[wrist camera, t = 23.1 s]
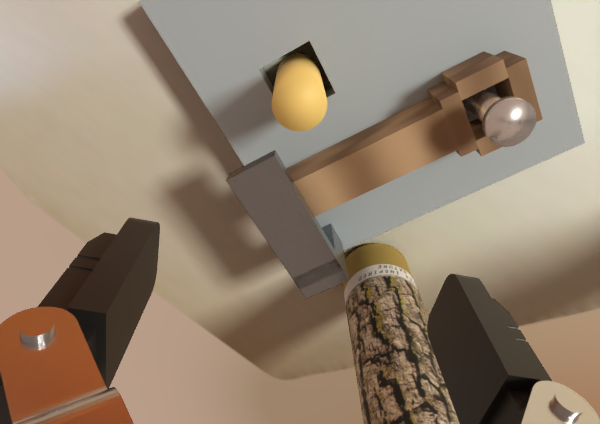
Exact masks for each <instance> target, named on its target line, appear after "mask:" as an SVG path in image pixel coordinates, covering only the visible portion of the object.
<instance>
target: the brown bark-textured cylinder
mask: <svg viewBox="0 0 600 424" xmlns="http://www.w3.org/2000/svg"><path fill="white" fill-rule="evenodd" d="M345 260H346V266H347V271H348V277H349V280H348V281H346V282H343V283H342V284H343V291H344V299H345V305H346V312H347V318H348V325H349V331H350V337H351V344H352V350H353V357H354V363H355V370H356V376H357V383H358V389H359V395H360V402H361V409H362V415H363V421H364V424H460V423H459V421H458V418H457V415H456V412H455V410H454V407H453V404H452V401H451V399H450V396H449V393H448V390H447V388H446V385H445V382H444V379H443V377H442V374H441V371H440V368H439V366H438V363H437V360H436V357H435V355H434V352H433V349H432V346H431V344H430V341H429V338H428V333H427V324H428V315H427V313H426V310H425V307H424V305H423V302H422V300H421V297H420V295H419V292H418V290H417V287H416V284H415V282H414V280H413V277H412V275H411V272H410V270H409V267H408V265H407V262H406V260H405V258H404V256H403V255H402V254H401V253H400V252H399V251H398V250H397V249H395V248H394V247H392V246H389V245H386V244H379V243H373V244H367V245H364V246H361V247H359V248H357V249H356V250H354V251H353V252H352V253H350V254H349V255H348V257H347V258H346V259H345Z"/></svg>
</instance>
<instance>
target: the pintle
mask: <svg viewBox="0 0 600 424" xmlns="http://www.w3.org/2000/svg"><path fill="white" fill-rule="evenodd" d="M462 103H463V105H464V108H465V109H467V110H468V111H469V112H470V113H472V114H473V115H474V116H475V117H477V118H478V119H479V120H481V121H482V129H483V132H484V134H485V136H486V137H487V138H488V139H489V140H490V141H492V142H493V143H494V144H496V145H498V146H502V147H510V146H514V145H517V144H519V143H521V142H522V141H524V140H525V139H526V138H527V137H528V136H529V135H530V134H531V132H532V131H533V129H534V127H535V124H536V112H535V109H534V108H533V106H532V105H531V104H530V103H528V102H527V101H525V100H523V99H521V98H519V97H515V96H508V97H504V98H500V97H498V96H497V95H495V94H493V93H492V92H490V91H488V90H487V89H484V90H482V91H480V92H478V93H476V94H474V95H472V96H470V97H468V98H466V99H464V100H462Z"/></svg>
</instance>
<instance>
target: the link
mask: <svg viewBox="0 0 600 424" xmlns="http://www.w3.org/2000/svg"><path fill="white" fill-rule="evenodd" d="M441 75H442V77H443V80H444V81H443V82H441V83H439V84H437V85H435V86H433V87H431V88H429V89H427V92H428V94H429V98H427V99H425V100H423V101H421V102H419V103H417V104H415V105H413V106H411V107H409V108H407V109H405V110H403V111H401V112H399V113H397V114H395V115H393V116H391V117H389V118H387V119H385V120H383V121H381V122H379V123H377V124H375V125H373V126H371V127H369V128H367V129H365V130H363V131H361V132H359V133H357V134H355V135H353V136H351V137H349V138H347V139H345V140H343V141H341V142H339V143H337V144H335V145H333V146H331V147H329V148H327V149H325V150H323V151H321V152H319V153H317V154H315V155H313V156H311V157H309V158H307V159H305V160H303V161H301V162H299V163H297V164H295V165H293V166H291V167H289V168H287V170H288V172H289V174H290V176H291V177H292V179H293V181H294V182H295V184H296V186H297V187H298V189H299V191H300V192H301V194H302V196H303V197H304V199H305V201H306V202H307V204H308V206H309V207H310V209H311V211H312V213H313V214H314V216H317V215H319V214H322V213H324V212H326V211H328V210H330V209H332V208H334V207H337V206H339V205H341V204H343V203H345V202H347V201H349V200H352V199H354V198H356V197H358V196H360V195H362V194H364V193H367V192H369V191H371V190H373V189H375V188H377V187H380V186H382V185H384V184H386V183H388V182H390V181H392V180H395V179H397V178H399V177H401V176H403V175H405V174H407V173H410V172H412V171H414V170H416V169H418V168H420V167H422V166H425V165H427V164H429V163H431V162H433V161H435V160H437V159H440V158H442V157H444V156H446V155H448V154H450V153H452V152H455V151H456V152H457V153H458V154H459V155H460V156H461V157H462V156H464V155H466V154H469V153H471V152H473V151H475V150H476V151H477V152H478V153H479V154H480V155H481V156H484V155H486V154H488V153H490V152H492V151H495V150H497V149H499V148H501V147H502V146H498V145H496V144H494V143H493V142H492V141H490V140H489V139H488V138H487V137H486V136H485V134H484V132H483V129H482V121H481V120H479V119H478V118H477V119H475V120H473V121H471V122H469V120H468V117H467V114H466V111H465V108H464V105H463V103H462V100H464V99H466V98H468V97H470V96H472V95H474V94H476V93H478V92H480V91H482V90H484V89H486V88H488V87H491V86H493V85H495V88H496V91H497V94H498V97H500V98H504V97H508V96H515V97H519V98H521V99H523V100H525V101H527V102H528V103H530V104H531V105H532V106H533V108H534V109H535V112H536V122H538V121H540V120H542V119H543V118H542V115H541V111H540V107H539V104H538V100H537V96H536V93H535V89H534V85H533V82H532V78H531V74H530V71H529V67H528V63H527V60H526V58H524V57H521V56H518V55H515V54H513V53H510V52H507V51H503V52H501V53H499V54H497V55H492V54H490V53H487V52H485V51H483V52H481V53H479V54H477V55H475V56H473V57H471V58H469V59H467V60H466V61H464V62H462V63H460V64H458V65H456V66H454V67H452V68H450V69H448V70H446V71H444V72H442V73H441Z"/></svg>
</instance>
